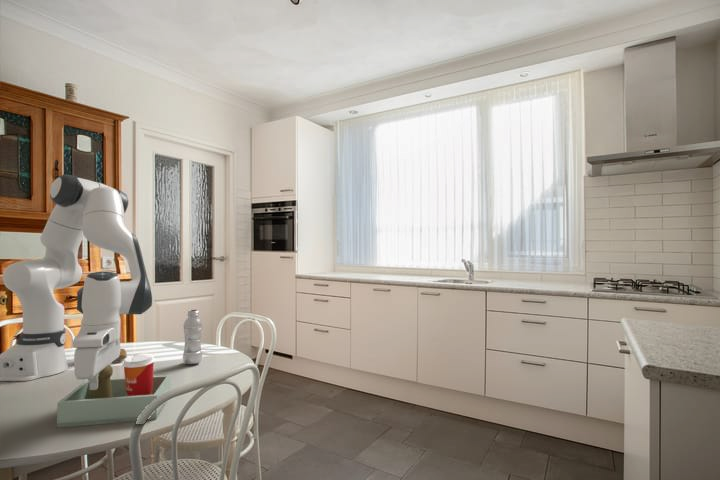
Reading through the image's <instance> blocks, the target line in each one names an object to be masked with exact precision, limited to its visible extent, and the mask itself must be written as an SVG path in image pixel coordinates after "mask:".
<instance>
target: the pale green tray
mask: <svg viewBox="0 0 720 480" xmlns="http://www.w3.org/2000/svg"><path fill="white" fill-rule="evenodd" d="M110 380H111V388H112V396H113V397H111V398H97V399H89V394H90V389H89V386H90V383H89V381H88V379H85V381H84V382H82V383H81V384H80V385H78V386H77V387H76V388H75V389H73V390H72V391H71V392H70V393H68V394H67V395H66V396H64V397H63V398H62V399H61V400H59V401H58V402H57V406H56V407H57V408H56V409H57V410H56V412H57V415H56V428H68V427H70V428H71V427H80V426H93V425H103V424H113V423H116V424H117V423H125V422H126V423H128V422H137V421H136V420H137V418H138V416H139V415H140V414H141V413H142V411H143V410H144V409H145V407H146V406H147V405H149V404H150V403H151V402H152V401H153V400H154V399H156V398H157V397H158V396H159V395H161V394H162V393H164V392H165V391H167V390H169V389H171V388H172V375H171V374H168V375H153V388H152V395H139V396H127V395H126V384H125V377H122V378H121V377H118V378H110ZM171 390H172V389H171ZM166 404H167V402H166V403H165V404H163V405H161V406H160V407H159V408H157V409H156V410H155V412H154V413H153V414H152V415H151V417H150V418H149V420H148V421H150V420H157V419H158V417H159V416H160V414H161V413H162V411H163V409H164V407H165V405H166Z"/></svg>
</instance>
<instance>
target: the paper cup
mask: <svg viewBox="0 0 720 480" xmlns="http://www.w3.org/2000/svg"><path fill="white" fill-rule="evenodd" d="M155 361H156V359H155V357H154V355H153V354H151V353H140V354H137V353H136V354H133V355H129V356H127V357H126V358H125V359H123V363H122V366H123V371H124V378H125V384H126V395H127V396H139V395H152V388H153V376H154V365H155V364H154V362H155Z"/></svg>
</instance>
